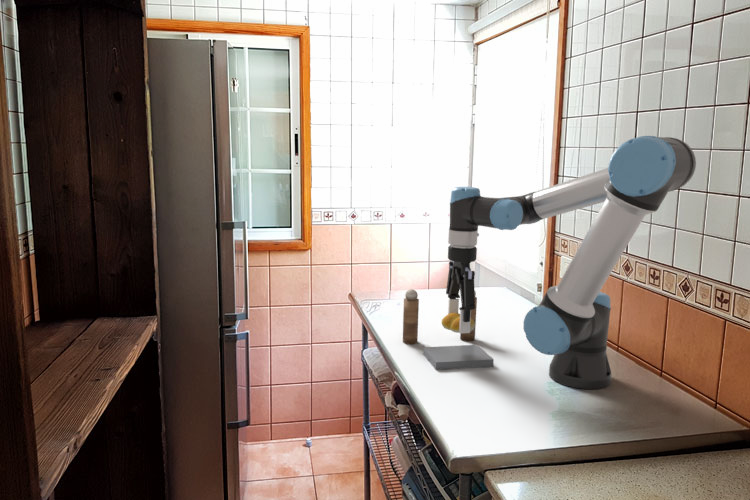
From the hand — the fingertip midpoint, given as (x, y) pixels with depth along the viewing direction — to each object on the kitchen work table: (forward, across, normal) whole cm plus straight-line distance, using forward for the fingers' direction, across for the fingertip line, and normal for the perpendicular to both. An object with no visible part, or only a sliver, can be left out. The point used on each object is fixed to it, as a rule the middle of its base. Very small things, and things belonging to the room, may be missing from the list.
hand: (458, 327), depth 168 cm
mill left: (+9, +17, +9) cm, 21 cm away
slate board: (+9, 0, 0) cm, 9 cm away
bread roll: (+1, 0, 0) cm, 1 cm away
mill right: (+9, +17, -9) cm, 21 cm away
